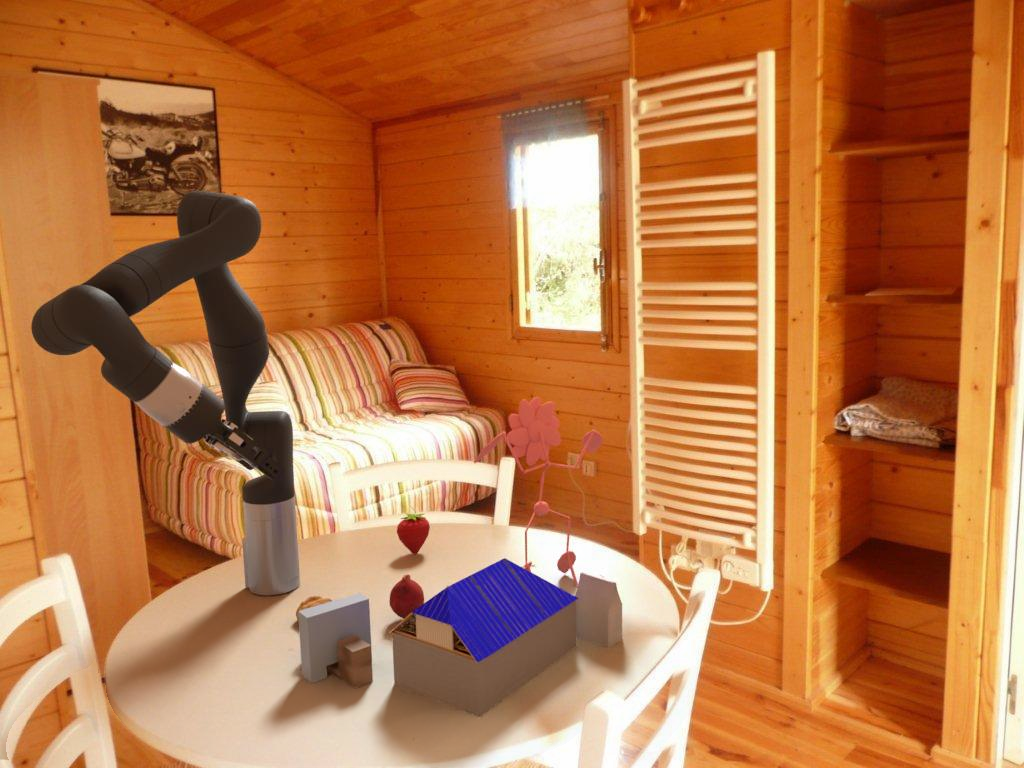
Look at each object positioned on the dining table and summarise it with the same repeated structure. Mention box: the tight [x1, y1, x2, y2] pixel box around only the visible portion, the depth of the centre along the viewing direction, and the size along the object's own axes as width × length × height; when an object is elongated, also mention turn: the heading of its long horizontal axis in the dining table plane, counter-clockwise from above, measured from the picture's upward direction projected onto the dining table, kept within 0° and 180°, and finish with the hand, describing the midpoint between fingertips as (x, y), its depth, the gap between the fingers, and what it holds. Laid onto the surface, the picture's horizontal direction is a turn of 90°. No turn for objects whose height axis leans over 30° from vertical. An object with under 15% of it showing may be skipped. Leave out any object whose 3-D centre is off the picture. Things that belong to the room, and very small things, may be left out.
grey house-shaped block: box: [574, 572, 623, 649], centre depth 133 cm, size 4×7×10 cm, turn 47°
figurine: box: [473, 396, 605, 586], centre depth 155 cm, size 15×26×35 cm, turn 124°
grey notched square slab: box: [298, 592, 373, 684], centre depth 125 cm, size 10×3×10 cm, turn 129°
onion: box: [389, 573, 425, 620], centre depth 141 cm, size 6×6×8 cm
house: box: [388, 557, 579, 718], centre depth 125 cm, size 25×16×16 cm, turn 144°
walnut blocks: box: [326, 635, 374, 689], centre depth 125 cm, size 14×3×6 cm, turn 40°
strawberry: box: [396, 507, 431, 555], centre depth 172 cm, size 6×8×10 cm
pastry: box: [295, 595, 333, 623], centre depth 141 cm, size 9×7×4 cm
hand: (266, 470), depth 121 cm, fingers open, 8 cm apart
